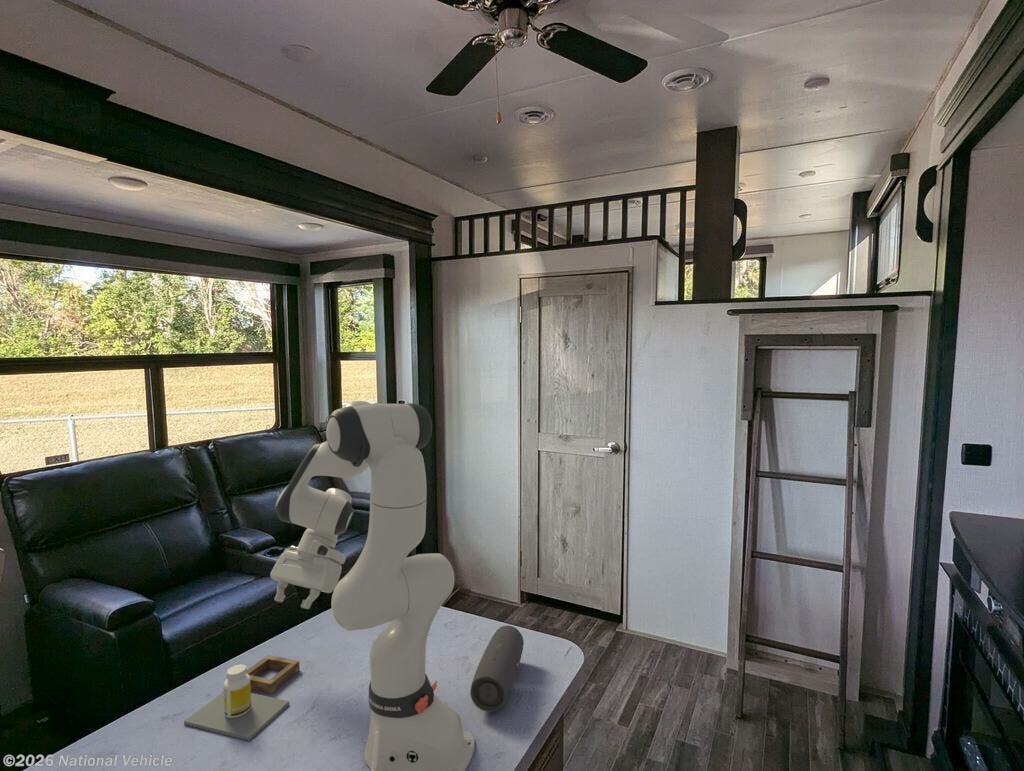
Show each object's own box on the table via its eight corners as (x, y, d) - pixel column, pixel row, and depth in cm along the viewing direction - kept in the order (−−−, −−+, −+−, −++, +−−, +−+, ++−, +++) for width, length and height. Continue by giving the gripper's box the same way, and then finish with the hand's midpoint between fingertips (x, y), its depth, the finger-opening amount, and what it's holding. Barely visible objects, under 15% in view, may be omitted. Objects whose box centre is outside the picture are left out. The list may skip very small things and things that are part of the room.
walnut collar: (299, 670, 133) (299, 660, 133) (271, 694, 124) (270, 683, 124) (268, 664, 136) (268, 654, 136) (238, 686, 127) (237, 677, 127)
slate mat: (289, 704, 120) (289, 701, 120) (249, 740, 108) (249, 737, 108) (228, 691, 125) (228, 688, 125) (184, 724, 114) (184, 721, 114)
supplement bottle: (256, 705, 119) (255, 664, 118) (238, 721, 113) (236, 678, 113) (237, 701, 120) (236, 660, 120) (218, 717, 115) (217, 674, 114)
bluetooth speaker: (508, 720, 114) (508, 676, 113) (468, 715, 116) (467, 672, 115) (526, 661, 136) (525, 624, 136) (492, 658, 138) (491, 621, 137)
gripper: (279, 540, 137) (253, 594, 130) (335, 551, 128) (311, 609, 121) (295, 548, 142) (271, 600, 135) (351, 558, 132) (328, 615, 125)
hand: (291, 604), depth 128 cm, fingers open, 8 cm apart
